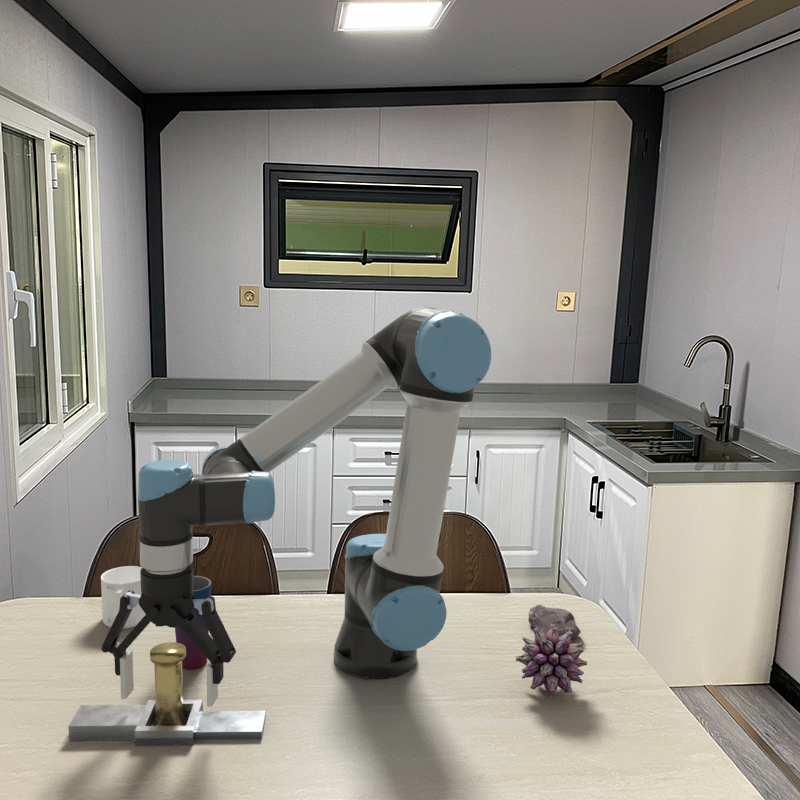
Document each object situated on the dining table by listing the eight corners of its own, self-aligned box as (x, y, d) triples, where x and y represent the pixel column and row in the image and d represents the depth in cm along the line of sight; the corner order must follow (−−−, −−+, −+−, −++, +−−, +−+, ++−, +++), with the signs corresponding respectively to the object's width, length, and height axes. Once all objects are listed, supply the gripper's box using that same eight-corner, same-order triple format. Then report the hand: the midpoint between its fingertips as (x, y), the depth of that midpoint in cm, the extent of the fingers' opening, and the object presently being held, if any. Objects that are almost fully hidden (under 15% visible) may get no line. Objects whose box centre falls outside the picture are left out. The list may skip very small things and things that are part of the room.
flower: (562, 721, 127) (567, 652, 125) (501, 692, 135) (504, 627, 133) (597, 693, 136) (603, 628, 134) (538, 668, 144) (542, 606, 142)
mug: (115, 607, 163) (114, 564, 161) (157, 611, 162) (156, 567, 160) (86, 634, 151) (84, 588, 150) (132, 638, 150) (130, 591, 149)
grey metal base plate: (266, 712, 127) (266, 698, 127) (260, 744, 119) (260, 729, 118) (84, 714, 125) (83, 700, 125) (65, 746, 117) (65, 731, 116)
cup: (201, 674, 138) (200, 593, 135) (165, 669, 139) (164, 588, 137) (218, 655, 145) (217, 578, 142) (183, 651, 146) (182, 574, 143)
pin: (192, 720, 124) (191, 643, 122) (179, 740, 119) (178, 660, 117) (160, 718, 125) (158, 640, 122) (146, 737, 120) (144, 657, 117)
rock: (554, 616, 165) (555, 596, 165) (586, 641, 155) (587, 619, 154) (520, 622, 162) (521, 601, 162) (550, 648, 152) (551, 626, 151)
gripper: (256, 561, 120) (256, 691, 123) (98, 550, 122) (103, 678, 126) (240, 581, 112) (241, 719, 116) (74, 568, 115) (79, 704, 119)
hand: (169, 698), depth 121 cm, fingers open, 13 cm apart
